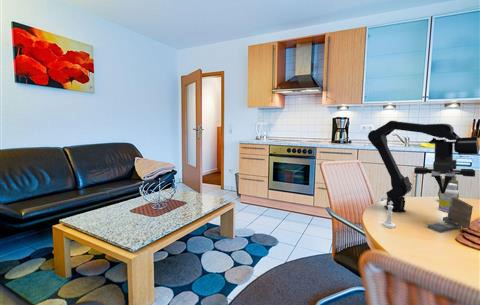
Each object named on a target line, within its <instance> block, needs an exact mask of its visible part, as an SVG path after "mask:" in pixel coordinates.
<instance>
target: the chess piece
mask: <svg viewBox="0 0 480 305" xmlns="http://www.w3.org/2000/svg"><path fill="white" fill-rule="evenodd" d="M388 204H390V205H388V209H387V210H386V213H387V217H386V220H385V221H384V220H383V221H381V223H380V224H381V226H383V227H385V228H388V229H396V224H395V223H394V222H393V221H392V214H393V213H394V211H392V209H393V206H392V204H393V202H392V201H390V202H388Z"/></svg>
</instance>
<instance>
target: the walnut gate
mask: <svg viewBox="0 0 480 305" xmlns="http://www.w3.org/2000/svg"><path fill="white" fill-rule="evenodd" d="M473 208H474V205H471V204H469V203H467V202H466V201H463V200H462V199H459V198H457V197H455V196H451V198H450V204H449V211H448V212H447V213H448V214H447V217H448V218H450V219H451V220H453V221H454V222H456V224H459V225H460V226H461V228H462V229H464V228H469V229H470V225H471V219H472V215H473V214H472V213H473Z"/></svg>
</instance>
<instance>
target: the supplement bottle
mask: <svg viewBox="0 0 480 305" xmlns="http://www.w3.org/2000/svg"><path fill="white" fill-rule="evenodd" d="M456 188H457V184H453V183H449V184H448V186H447V189H446V191H445V193H441V192H440V200H439V199H438V210H440V211H442V212H445V213H448V211H449V204H450V198H451V196H455V197H457V198H458V199H459V198H460V191H459V189H458V190H456Z"/></svg>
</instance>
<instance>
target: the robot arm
mask: <svg viewBox="0 0 480 305" xmlns="http://www.w3.org/2000/svg"><path fill="white" fill-rule="evenodd" d="M395 130H397V131H405V132H413V133H421V134H426V135H427V136H428V135H429V136H432V139H430V140H429V141H428V143H429V144H430V145H434V161H433V164H432V167H433V168H428V167H427V166H426V167H424V166H423V167H422V166H421V167H419V166H416V167H414V172H413V173H414V174H416V175H417V174H418V175H426V174H431V175H430V177H433V178H434V179H435V181H436V182H437V185H438V186H439V187H438V188H440V190H441V193H445V191H446V189H447V186H448V184H449V183H450V181H451V179H452V178H456V179H457V177H455V175H456V176H457V175H459V176H460V175H461V176H463V177H472V178H474V177H476V170H475V169H473V168H460V170H459V169H457V159H454V152H455V153H457V154H458V155H459V156H460V155H464V156H465V155H467V156H468V155H471V156H472V155H474V156H475V155H479V152H480V144H479V139H478V136H470V137H460V136H459V135H458V134H457V133H456V132H455V131H454V127H453V126H452V125H451V124H449V123H427V124H425V123H418V122H417V123H416V122H405V121H397V120H390V121H387V122H386V123H385V124H383V125H382V126H380V127H377V129H374V130H370V131H369V132H368V135H367V139H368V141H369V143H371V145H372V146H373V147H374V148H375V149H376V150H377V152H378V154H379V155H380V158H381V160H382V162H383V164H384V166H385V168H386V171H387V172H388V174H389V177H390V184H391V188H390V190H388V191H387V192H386V193H385V194H386V196H387V197H386V205H383V207H384V208H385V209H387V210H388V205H390V204H388V202H390V201H392V202H393V204H392V206H393V209H392V212H393V213H394V212H399V213H400V212H401V213H402V212H404V213H405V212H407V211H406V210H405V207H406V206H405V205H406V197H405V196H406V195H407V194H409V193H410V192H411V191H412V188H413V187H412V185H413V183H411V181H410V178H409V176H408V175H407V176H404V175H403V174H402V172H401V171H400V169H399V166H398V164H397V163H396V160H395V158H394V157H393V156H394V155H393V154H392V153H391V150H390V147H389V146H388V139H387V136H389V135H390V134H391V133H392V132H394V131H395ZM437 138H438V139H437ZM447 140H448V141H447ZM445 174H446V176H445ZM442 175H444V178H445V180H444V186H443V182H442V179H443V176H442Z"/></svg>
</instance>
